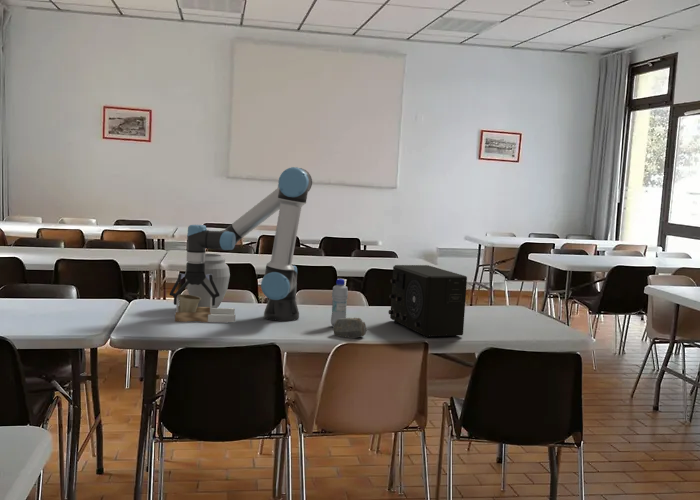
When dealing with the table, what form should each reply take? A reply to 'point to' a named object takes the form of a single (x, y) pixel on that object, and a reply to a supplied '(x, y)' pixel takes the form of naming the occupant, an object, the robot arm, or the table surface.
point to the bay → (222, 315)
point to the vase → (220, 277)
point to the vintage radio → (428, 300)
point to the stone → (350, 327)
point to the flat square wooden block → (194, 315)
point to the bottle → (339, 301)
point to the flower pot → (188, 303)
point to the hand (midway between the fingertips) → (194, 312)
